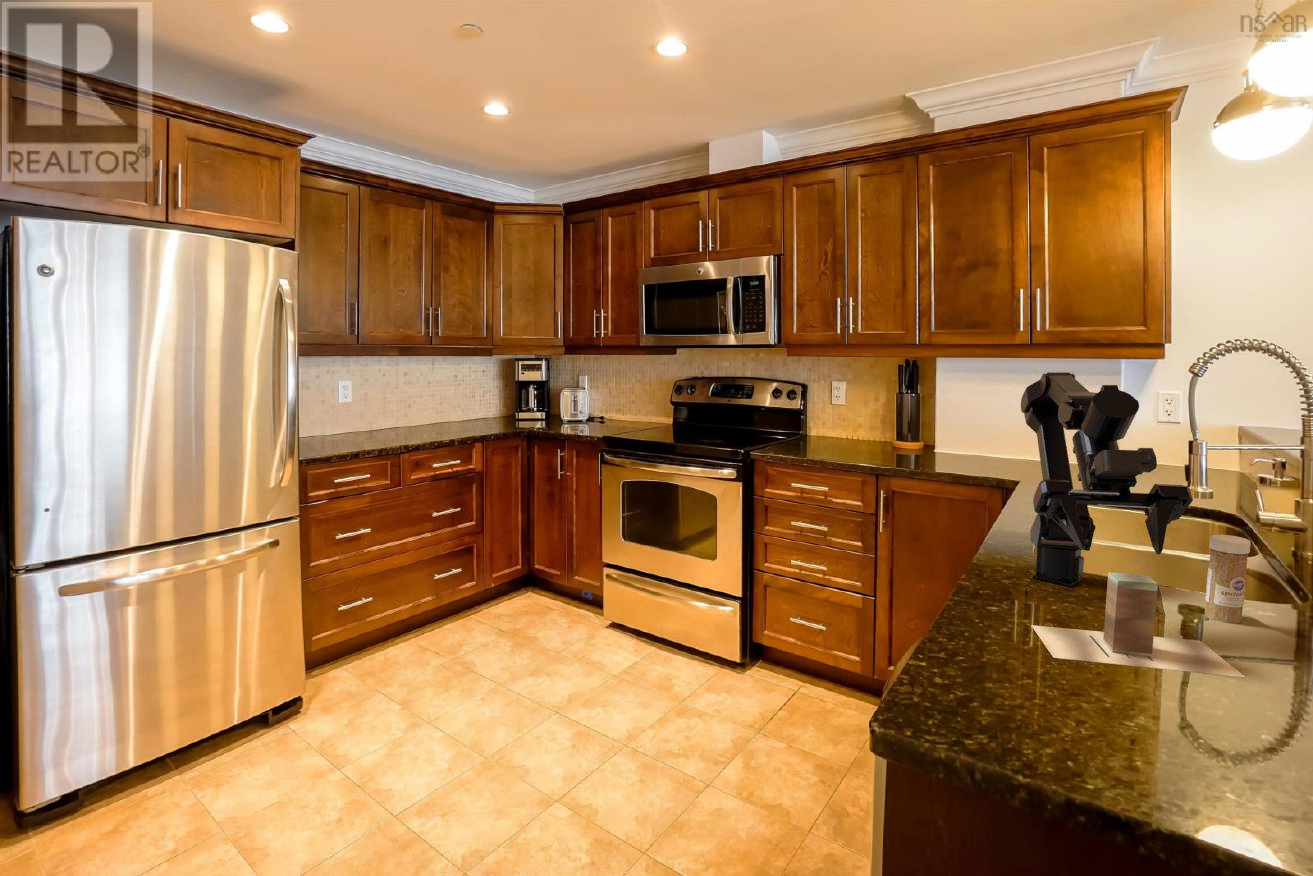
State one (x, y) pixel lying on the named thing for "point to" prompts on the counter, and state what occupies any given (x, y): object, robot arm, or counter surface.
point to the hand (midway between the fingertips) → (1120, 550)
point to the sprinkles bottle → (1226, 578)
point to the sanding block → (1130, 614)
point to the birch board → (1164, 655)
